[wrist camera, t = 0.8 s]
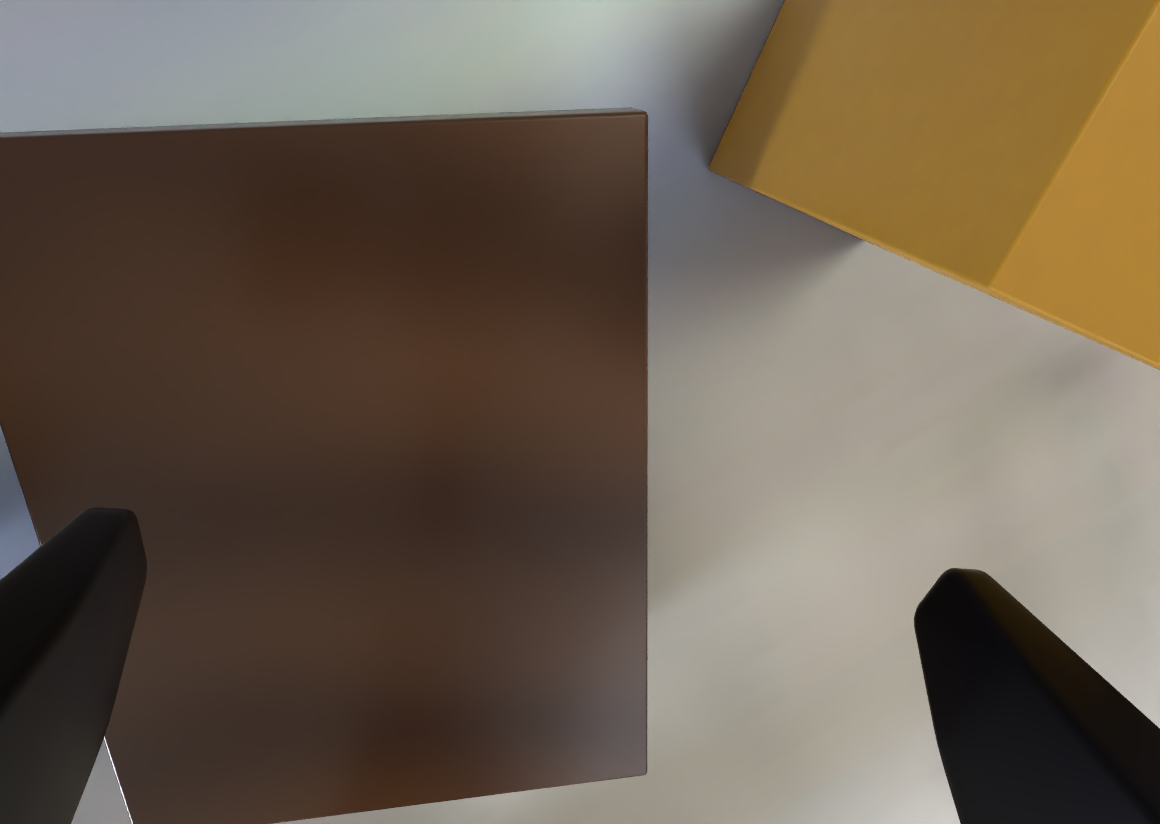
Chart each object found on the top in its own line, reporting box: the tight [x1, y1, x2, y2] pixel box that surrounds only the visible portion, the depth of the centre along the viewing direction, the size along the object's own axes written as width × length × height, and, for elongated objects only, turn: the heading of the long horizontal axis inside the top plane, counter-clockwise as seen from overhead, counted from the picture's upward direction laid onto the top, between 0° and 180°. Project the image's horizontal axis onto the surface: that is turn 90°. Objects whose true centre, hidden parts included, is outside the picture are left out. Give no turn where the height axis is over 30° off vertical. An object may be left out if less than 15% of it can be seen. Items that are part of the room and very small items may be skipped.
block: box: [708, 0, 1160, 370], centre depth 16 cm, size 5×5×12 cm
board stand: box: [0, 108, 648, 824], centre depth 22 cm, size 18×14×4 cm
